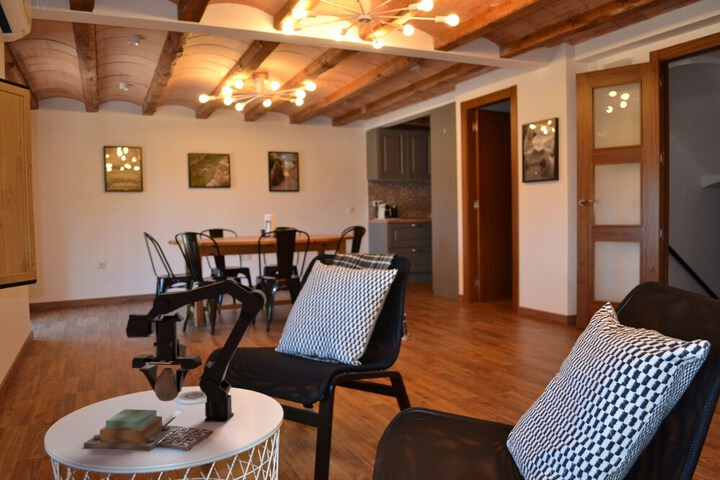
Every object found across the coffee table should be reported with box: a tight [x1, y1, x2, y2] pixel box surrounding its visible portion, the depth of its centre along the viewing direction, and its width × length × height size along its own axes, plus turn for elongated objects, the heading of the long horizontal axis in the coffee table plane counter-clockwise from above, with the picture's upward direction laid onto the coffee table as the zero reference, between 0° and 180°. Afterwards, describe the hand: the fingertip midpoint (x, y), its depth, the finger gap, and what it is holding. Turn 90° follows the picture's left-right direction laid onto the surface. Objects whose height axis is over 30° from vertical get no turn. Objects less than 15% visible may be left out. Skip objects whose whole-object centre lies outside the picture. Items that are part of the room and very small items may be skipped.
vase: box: [154, 367, 180, 402], centre depth 159 cm, size 7×7×9 cm
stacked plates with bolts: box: [83, 408, 178, 451], centre depth 146 cm, size 18×14×6 cm
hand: (167, 391), depth 159 cm, fingers closed on vase, 7 cm apart
